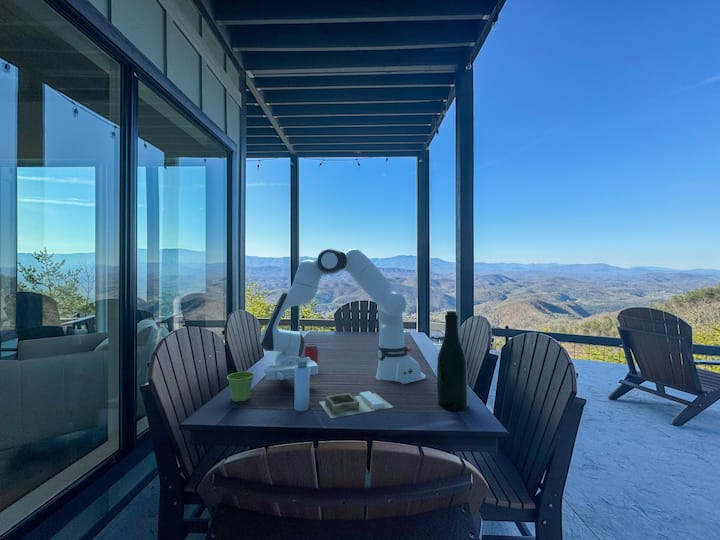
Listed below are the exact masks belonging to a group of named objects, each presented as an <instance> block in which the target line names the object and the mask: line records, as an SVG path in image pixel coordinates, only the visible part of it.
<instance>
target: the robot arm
mask: <svg viewBox="0 0 720 540" xmlns="http://www.w3.org/2000/svg"><path fill="white" fill-rule="evenodd" d="M341 270H344V271H345V272H347V273H348V274H349V275H350V276H351V277H352V278H353V280H355V282H356V283H357V284H358V285H359V287H360V288H361V289H362V290H363V291H364V292H365V294H367V295H368V296H369V297H370V299H372V301H373V302H374V303H375V304H376V306H377V312H378V313H377V314H378V336H379V337H378V340H379V341H378V345H377V348H378V349H377V356H378V357H377V358H378V359H377V360H378V364H377V370H376V375H375V379H376V380H377V381H380V380H383V381H390V382H398V383H400V384H403V385H405V384H409V383H413V382H417V381H422V380H425V379H427V376H426V374H425V373H423V372H422V370H421V366H420V363H419V362H418V361H417V360H416V359H414V358H413V357H412V356H410V355H409V354H408V353H412V347H409V346H405V327H404V319H403V313H404V312H405V311H406V309H407V300H406V297H405V295H403V293H401V291H399V290H398V288H397V287H396V286H395V285H394V284H393V283H392V282H391V281H390V280H389V279H388V278H387V277H386V276H385V275H384V274H383V273H382V272H381V270H379V268H378V267H377V266H376V265H375V264H374V263H373V262H372V261H371V259H370V258H369V257H367V255H365V254H364V253H363V252H362V251H361V250H359V249H358V248H350V249H348V250H347V251H345V252H343V251H340V250H339V249H338V250H337V249H336V248H335V249H334V248H326V249H325V248H324V249H322V251H320V253H319V254H318V256H317V259H316V260H313V259H304V260H302V261H300V264H299V265H298V267H297V270H296V272H295V275H294V278H293V282H292V285H291V286H290V288H289V289H288V290H287V291H284V292H283V293H282V294H281V295H280V297H279V299H278V301H277V302H276V305H275V307H274V309H273V310H272V313H271V315H270V318H269V320H268V322H267V324H266V326H265V327H264V330H263V331H262V333H261V334H260V337H259V346H260V347H261V349H263V350H264V351H265V352H277V353H276V354H275V356H274V365H273V364H272V365H268V366H266V368H264V369H263V373H264V374H265V379H266V380H267V381H272V380H281V381H283V380H286V379H288V380H290V379H293V378H295V367H296V366H298V361H299V360H306V361H307V365H308V366H309V378H310V377H311V375H312V376H314V375H318V374H319V363H318V364H317V363H316V362H314V361H313V360H310V357H304V356H302V354H303V353H304V349H305V338H304V335H302V333H301V332H300V331H295V330H290V329H284V328H278V326H279V324H280V321H281V320H282V317H283V315H284V313H285V311H286V310H288V309H289V308H292V307H297V306H302V305H306V304H309V303H311V302H312V301H313V300H314V299H315V297H316V295H317V292H318V288H319V283H320V280H321V279H322V277H323V276H325V275H335V274H337V273H339V272H340V271H341Z"/></svg>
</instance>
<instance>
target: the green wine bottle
mask: <svg viewBox="0 0 720 540" xmlns="http://www.w3.org/2000/svg"><path fill="white" fill-rule="evenodd" d="M444 319H445V329H444V338H443V341H442V344H441V346H440V348H439V352H438V354H437V355H438V356H437V363H436V365H437V366H436V404H437V405H438V406H439V407H440V408H443V409H444V410H447V411H453V412H455V411H456V412H457V411H458V412H459V411H463V410H465V409H467V408H468V405H469V399H468V396H469V395H468V391H469V390H468V387H469V386H468V367H467V357H466V353H465V351H464V348H463V346H462V343H461V341H460V335H459V325H458V324H459V322H458V321H459V316H458V314H457V311H455V310H447V311H446V314H445V315H444Z"/></svg>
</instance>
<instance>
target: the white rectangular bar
mask: <svg viewBox="0 0 720 540" xmlns="http://www.w3.org/2000/svg"><path fill="white" fill-rule="evenodd" d="M359 396H360V398H361V399H363V400H364V401H365V402H366V403H367V404H368V405H369V406H370V407H372V408H373V409H378V408H384V402H383V401H381V400H380V399H379V398H378V397H376V396H375V395H374V393H372V392H371V391H370V390H369V391H361V392H359Z"/></svg>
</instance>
